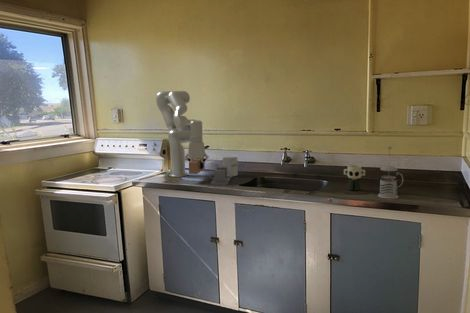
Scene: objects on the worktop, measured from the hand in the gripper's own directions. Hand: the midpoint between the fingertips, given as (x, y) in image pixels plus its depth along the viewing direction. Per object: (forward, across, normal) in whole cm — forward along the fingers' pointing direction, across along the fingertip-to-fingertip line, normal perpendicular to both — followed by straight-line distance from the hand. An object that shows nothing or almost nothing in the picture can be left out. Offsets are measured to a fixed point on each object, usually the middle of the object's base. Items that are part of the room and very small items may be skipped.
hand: (197, 168), depth 239 cm
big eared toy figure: (+5, +91, -30) cm, 96 cm away
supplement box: (+8, +20, +15) cm, 26 cm away
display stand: (+7, +16, -4) cm, 18 cm away
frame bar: (+2, 0, 0) cm, 2 cm away
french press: (+5, +105, -45) cm, 114 cm away
